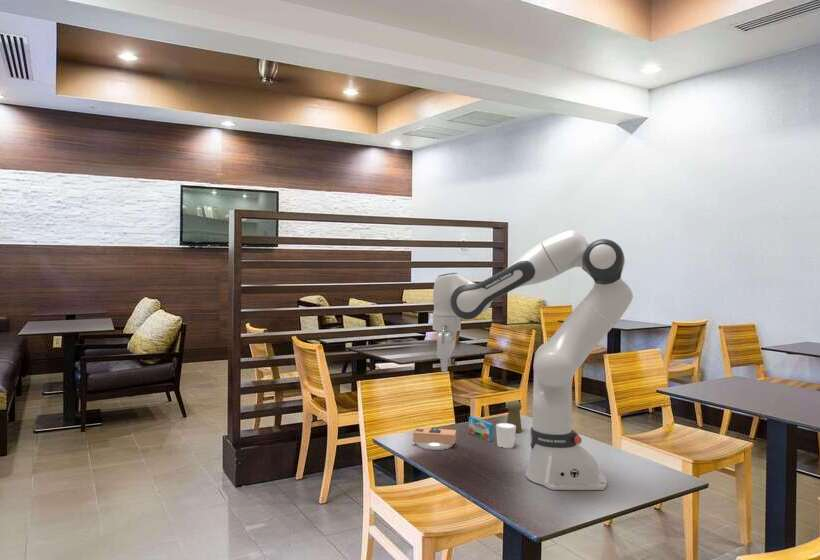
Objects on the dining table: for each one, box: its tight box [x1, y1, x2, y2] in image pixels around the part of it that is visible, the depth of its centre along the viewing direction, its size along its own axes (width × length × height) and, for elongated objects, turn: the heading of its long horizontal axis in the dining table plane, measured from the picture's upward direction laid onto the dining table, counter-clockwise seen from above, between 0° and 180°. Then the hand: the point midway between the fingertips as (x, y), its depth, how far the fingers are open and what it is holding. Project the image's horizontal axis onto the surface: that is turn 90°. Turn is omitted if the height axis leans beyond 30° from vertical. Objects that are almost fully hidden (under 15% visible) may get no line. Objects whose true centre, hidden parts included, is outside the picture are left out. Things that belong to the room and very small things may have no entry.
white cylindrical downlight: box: [495, 422, 516, 449], centre depth 192 cm, size 7×7×7 cm
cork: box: [506, 400, 523, 434], centre depth 209 cm, size 6×6×11 cm
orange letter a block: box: [412, 427, 457, 445], centre depth 192 cm, size 14×6×3 cm, turn 80°
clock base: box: [415, 427, 455, 451], centre depth 192 cm, size 13×13×6 cm
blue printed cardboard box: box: [467, 415, 494, 442], centre depth 201 cm, size 12×2×6 cm, turn 31°
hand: (445, 368), depth 176 cm, fingers open, 8 cm apart
